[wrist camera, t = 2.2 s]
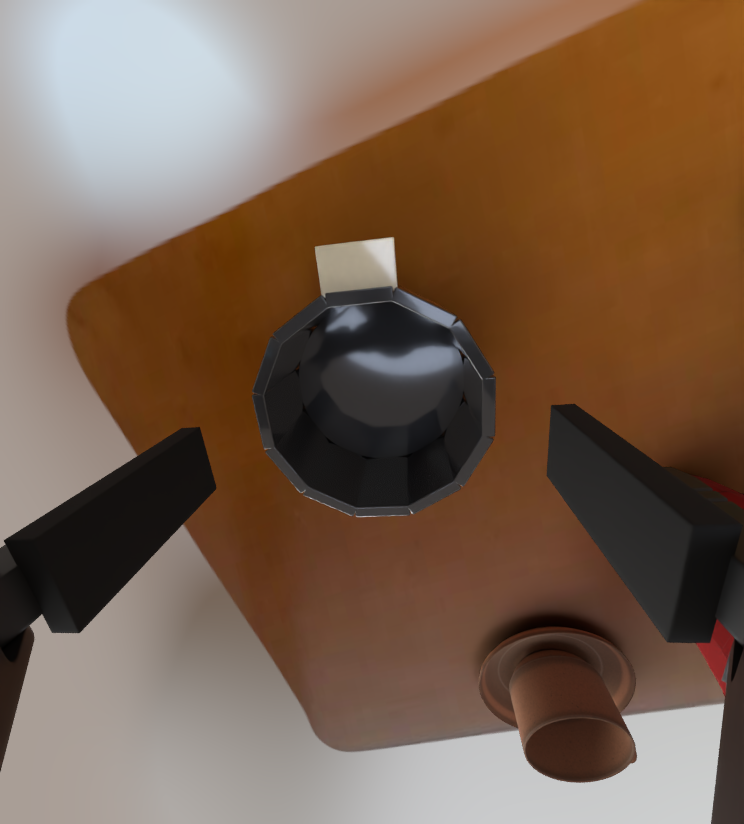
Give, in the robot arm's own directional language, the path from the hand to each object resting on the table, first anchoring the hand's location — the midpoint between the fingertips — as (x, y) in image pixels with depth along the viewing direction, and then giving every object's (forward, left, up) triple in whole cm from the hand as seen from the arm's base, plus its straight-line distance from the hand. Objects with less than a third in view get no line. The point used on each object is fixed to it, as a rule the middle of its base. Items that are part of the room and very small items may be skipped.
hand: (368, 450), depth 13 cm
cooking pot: (0, 0, -9) cm, 9 cm away
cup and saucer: (+28, +7, -11) cm, 31 cm away
